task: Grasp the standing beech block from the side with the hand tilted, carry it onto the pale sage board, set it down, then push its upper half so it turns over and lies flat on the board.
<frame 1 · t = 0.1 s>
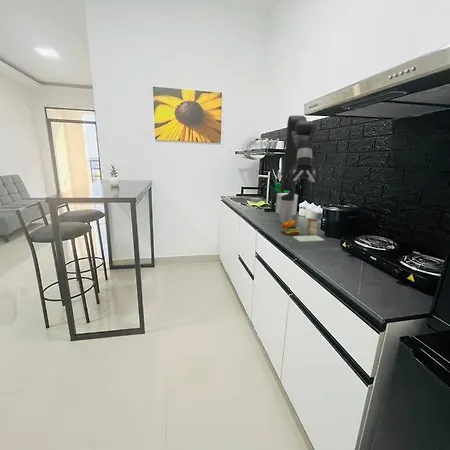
hand: (303, 189, 127), 31 cm above the countertop, tool tilted 20°, fingers open, 8 cm apart
beech block: (311, 234, 161), on the countertop
sage board: (308, 239, 151), on the countertop
supplement box: (285, 214, 221), on the countertop
cheeseburger: (290, 233, 162), on the countertop
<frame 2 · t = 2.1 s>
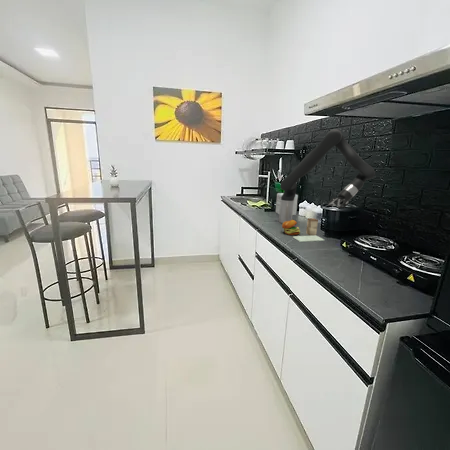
hand: (329, 211, 159), 15 cm above the countertop, tool tilted 45°, fingers open, 8 cm apart
nothing on the countertop moved.
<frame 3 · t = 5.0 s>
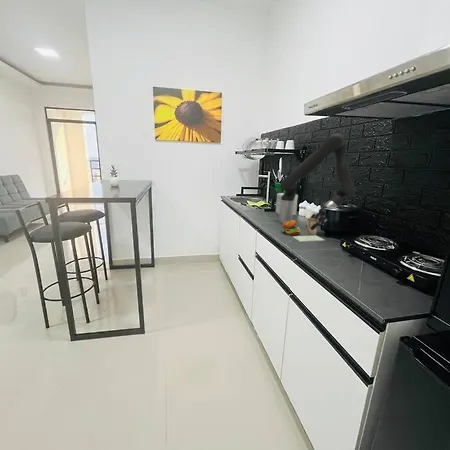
hand: (309, 228, 159), 4 cm above the countertop, tool tilted 45°, fingers closed on beech block, 4 cm apart
beech block: (311, 234, 161), on the countertop, touching gripper
everything else where it was.
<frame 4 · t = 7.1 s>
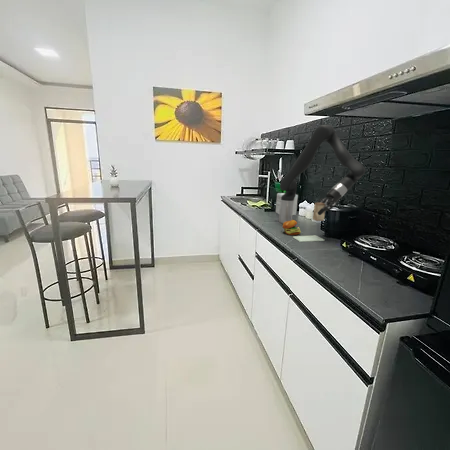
hand: (316, 213, 147), 16 cm above the countertop, tool tilted 45°, fingers closed on beech block, 4 cm apart
beech block: (318, 219, 149), point 12 cm above the countertop, touching gripper
everything else where it was.
when the fingers open (6 cm above the countertop, at t = 9.3 s): beech block drops 1 cm, resting on sage board.
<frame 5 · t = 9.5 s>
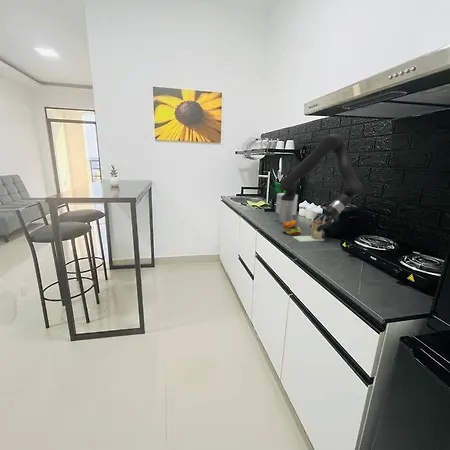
hand: (314, 229, 150), 6 cm above the countertop, tool tilted 45°, fingers open, 6 cm apart
beech block: (315, 237, 152), point 1 cm above the countertop, touching sage board
everything else where it was.
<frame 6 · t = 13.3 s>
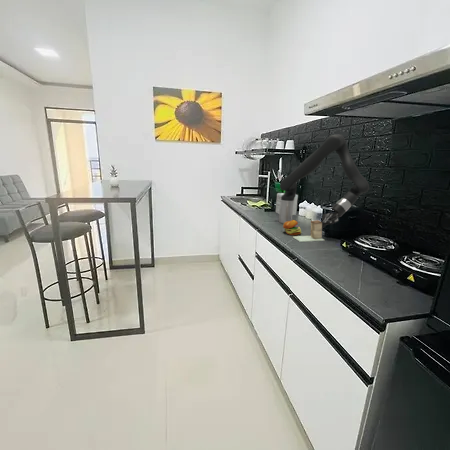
hand: (320, 227, 151), 7 cm above the countertop, tool tilted 45°, fingers closed
beech block: (315, 237, 152), point 1 cm above the countertop, tilted 6°, touching gripper, sage board
everything else where it was.
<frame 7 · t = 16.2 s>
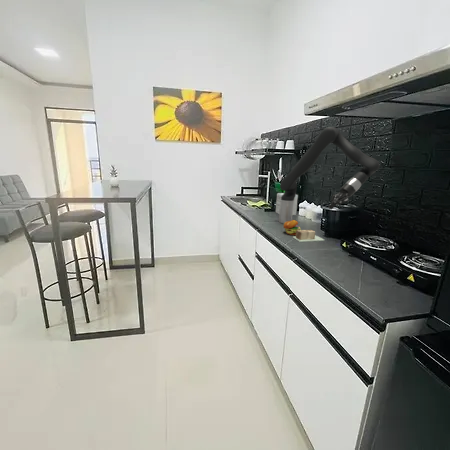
hand: (329, 208, 149), 19 cm above the countertop, tool tilted 45°, fingers closed
beech block: (313, 234, 151), point 3 cm above the countertop, tilted 90°, touching sage board
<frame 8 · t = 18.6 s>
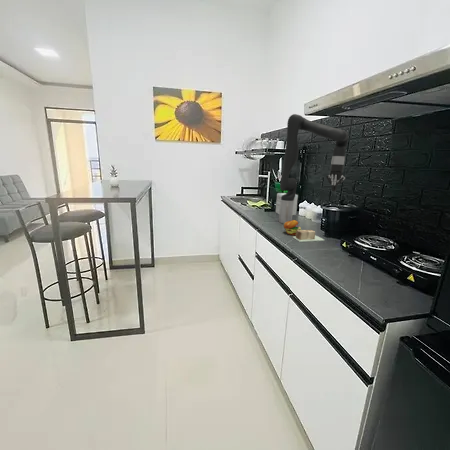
hand: (333, 190, 164), 27 cm above the countertop, tool pointing down, fingers closed
at the end: beech block tilted 90°; beech block inside the target area on the sage board (2.8 cm from its centre), point 2.8 cm above the sage board's base; the gripper is holding nothing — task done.
